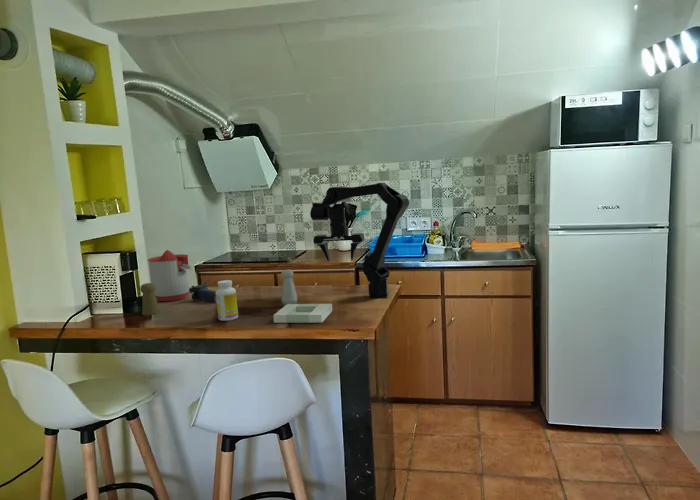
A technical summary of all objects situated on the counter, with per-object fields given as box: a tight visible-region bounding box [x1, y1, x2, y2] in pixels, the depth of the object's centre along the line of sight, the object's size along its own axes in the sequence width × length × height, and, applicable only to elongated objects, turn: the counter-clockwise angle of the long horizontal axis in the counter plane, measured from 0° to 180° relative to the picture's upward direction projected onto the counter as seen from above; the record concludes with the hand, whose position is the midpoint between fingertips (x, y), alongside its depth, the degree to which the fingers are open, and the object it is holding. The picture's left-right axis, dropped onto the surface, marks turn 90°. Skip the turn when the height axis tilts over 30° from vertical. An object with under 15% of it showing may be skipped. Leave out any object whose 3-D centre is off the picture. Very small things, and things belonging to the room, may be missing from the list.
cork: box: [139, 282, 160, 316], centre depth 199 cm, size 6×6×11 cm
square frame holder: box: [272, 303, 333, 324], centre depth 182 cm, size 16×14×2 cm
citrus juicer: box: [147, 249, 192, 302], centre depth 221 cm, size 16×17×20 cm
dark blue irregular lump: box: [188, 282, 217, 304], centre depth 214 cm, size 9×8×12 cm
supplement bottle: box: [215, 279, 239, 322], centre depth 184 cm, size 7×7×13 cm
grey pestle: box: [280, 269, 298, 307], centre depth 198 cm, size 6×6×13 cm
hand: (340, 260), depth 210 cm, fingers open, 9 cm apart
